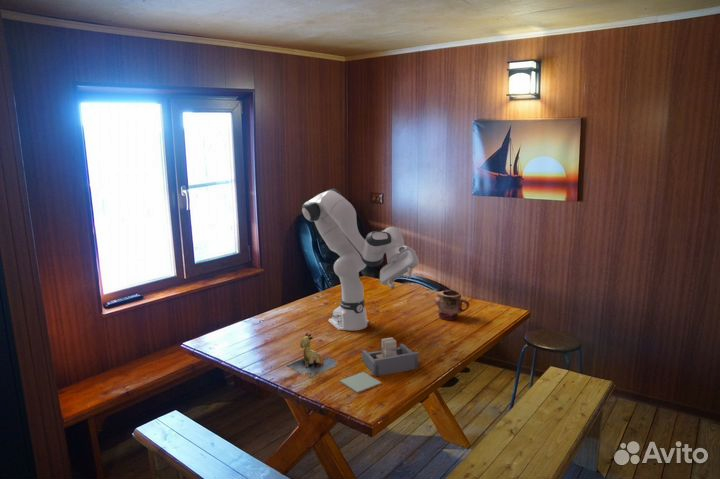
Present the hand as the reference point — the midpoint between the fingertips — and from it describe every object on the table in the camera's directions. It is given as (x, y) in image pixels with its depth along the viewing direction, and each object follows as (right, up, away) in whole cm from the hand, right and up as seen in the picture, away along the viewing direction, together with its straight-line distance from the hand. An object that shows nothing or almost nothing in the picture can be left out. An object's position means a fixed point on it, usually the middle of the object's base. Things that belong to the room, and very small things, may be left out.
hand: (400, 283), depth 226 cm
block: (-5, -32, +3) cm, 33 cm away
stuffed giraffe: (-37, -36, +4) cm, 52 cm away
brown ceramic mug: (+31, -23, +56) cm, 68 cm away
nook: (-5, -35, +4) cm, 36 cm away
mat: (-17, -39, -13) cm, 45 cm away
